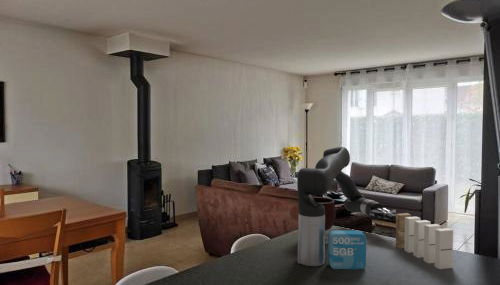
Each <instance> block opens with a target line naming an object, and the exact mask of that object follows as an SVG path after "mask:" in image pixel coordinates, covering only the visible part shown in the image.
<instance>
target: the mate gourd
mask: <svg viewBox="0 0 500 285" xmlns="http://www.w3.org/2000/svg"><path fill="white" fill-rule="evenodd" d="M309 196H310V197H311V198H312V199H313V200H314V201H316V202H317V203H320V204H322V205H323V206H324V207H325V232H326V231H329V230H330V229H332V227H333V226H334V224H335V221H336V216H337V214H336V211H337V210H336V204H335V199H333V198H331V197H322V196H313V195H309ZM326 245H327V246H328V235H326V234H325V246H326Z"/></svg>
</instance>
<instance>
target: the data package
mask: <svg viewBox="0 0 500 285" xmlns="http://www.w3.org/2000/svg"><path fill="white" fill-rule="evenodd" d="M327 236H328V244H327V248H328V249H327V261H328V263H329V266H330V268H332V269H334V270H364V269H365V268H366V266H367V236H366V235H365V234H364V233H363V231H361V230H337V229H336V230H330V231H329V232H328V234H327Z"/></svg>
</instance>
